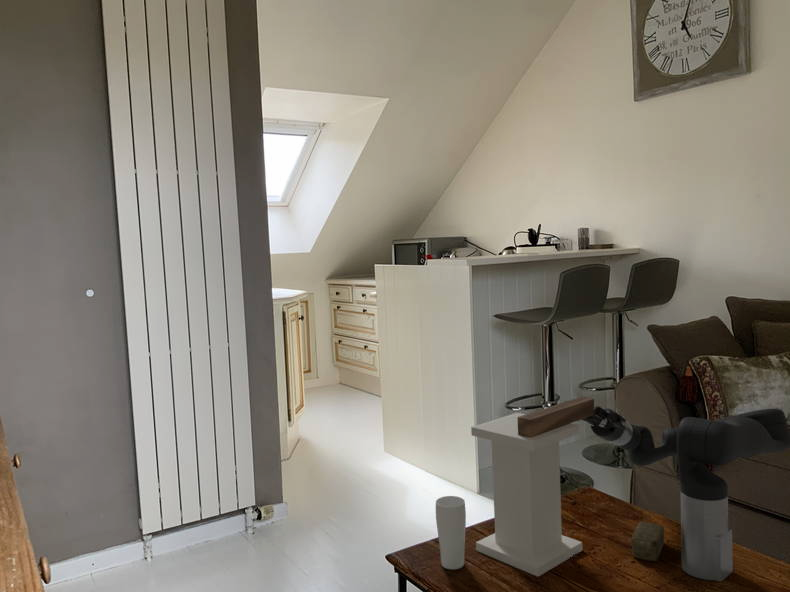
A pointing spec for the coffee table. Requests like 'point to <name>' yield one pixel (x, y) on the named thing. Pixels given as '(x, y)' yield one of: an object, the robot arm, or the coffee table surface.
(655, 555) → the stone block
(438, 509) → the drinking glass
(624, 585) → the coffee table surface
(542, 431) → the walnut bar
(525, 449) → the shelf stand
